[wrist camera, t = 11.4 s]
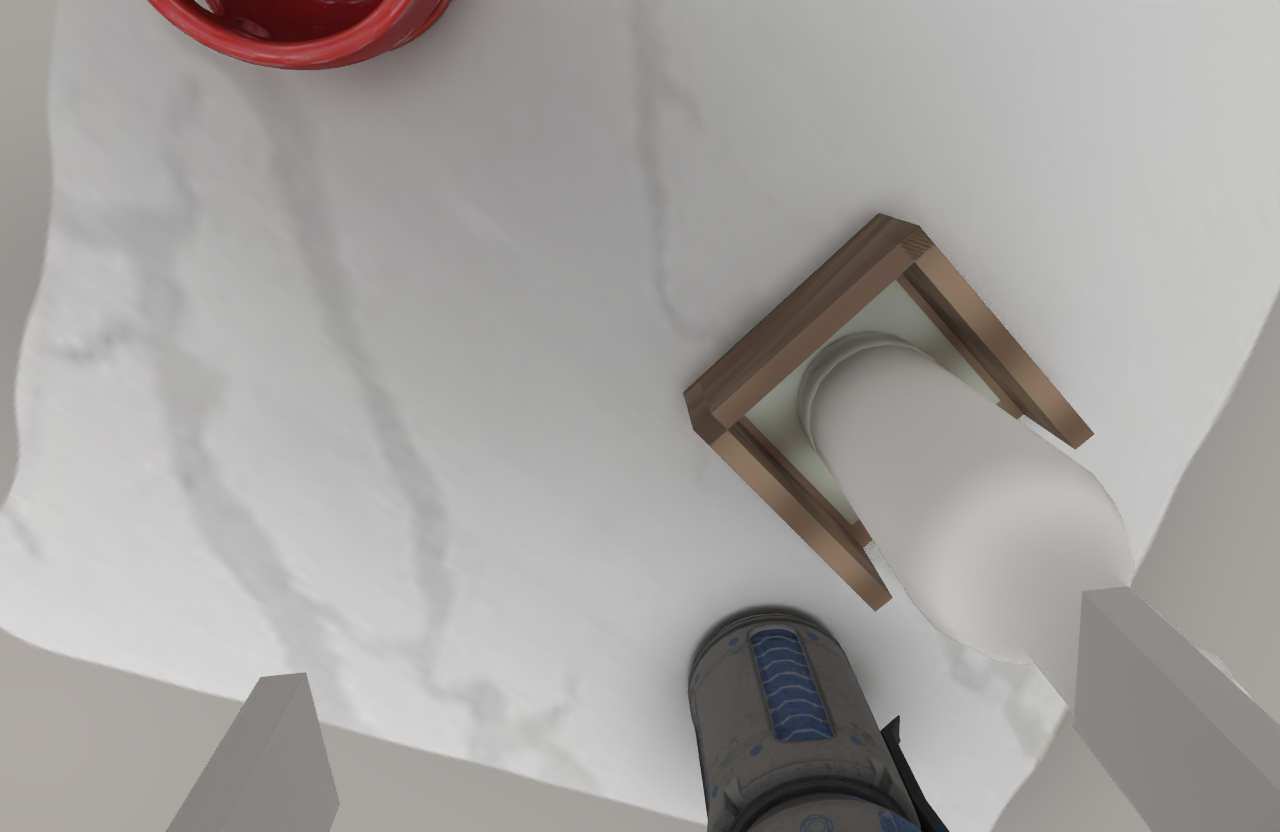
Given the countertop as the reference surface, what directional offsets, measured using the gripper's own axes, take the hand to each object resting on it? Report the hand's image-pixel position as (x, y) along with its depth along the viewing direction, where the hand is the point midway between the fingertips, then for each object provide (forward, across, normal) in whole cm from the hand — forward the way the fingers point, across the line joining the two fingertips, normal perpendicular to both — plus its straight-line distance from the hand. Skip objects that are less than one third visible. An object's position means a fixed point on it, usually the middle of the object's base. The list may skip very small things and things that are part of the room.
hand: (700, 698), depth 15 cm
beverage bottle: (+36, +7, -25) cm, 44 cm away
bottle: (+35, +12, -7) cm, 38 cm away
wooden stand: (+36, +12, -7) cm, 38 cm away
